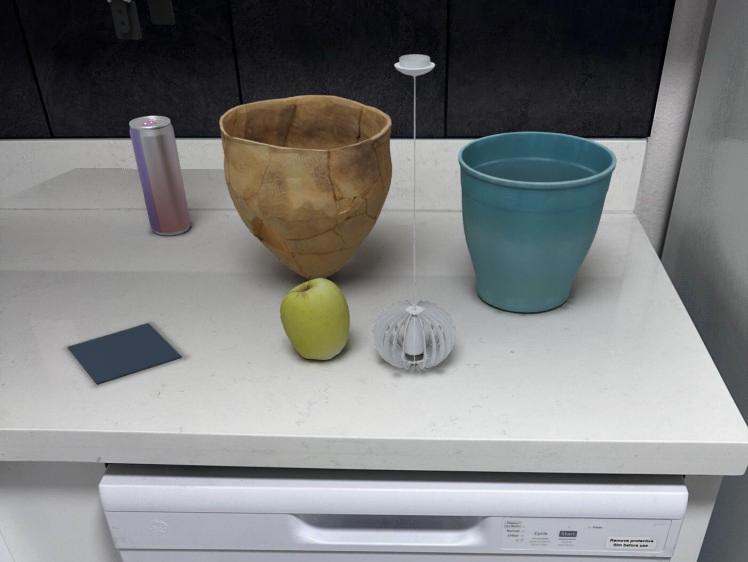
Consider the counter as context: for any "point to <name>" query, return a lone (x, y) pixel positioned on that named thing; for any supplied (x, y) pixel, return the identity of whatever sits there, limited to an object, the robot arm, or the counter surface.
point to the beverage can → (160, 174)
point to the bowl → (308, 176)
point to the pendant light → (422, 310)
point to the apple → (316, 319)
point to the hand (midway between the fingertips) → (147, 31)
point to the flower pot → (531, 213)
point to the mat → (123, 353)
